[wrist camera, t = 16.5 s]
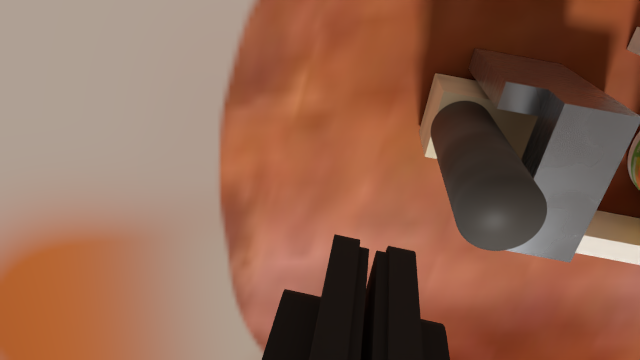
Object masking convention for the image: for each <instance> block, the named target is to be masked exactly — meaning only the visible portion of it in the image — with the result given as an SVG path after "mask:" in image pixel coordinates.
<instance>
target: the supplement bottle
mask: <svg viewBox="0 0 640 360" xmlns="http://www.w3.org/2000/svg"><path fill="white" fill-rule="evenodd" d="M628 172H629V175H630V178H631V180H632V182H633V184H634V185H635V186H636V187H637V189H638V190H639V191H640V131H639V133H638V134H637V135H636V137H635V139H634V140H633V143H632V145H631V147H630V150H629V154H628Z"/></svg>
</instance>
